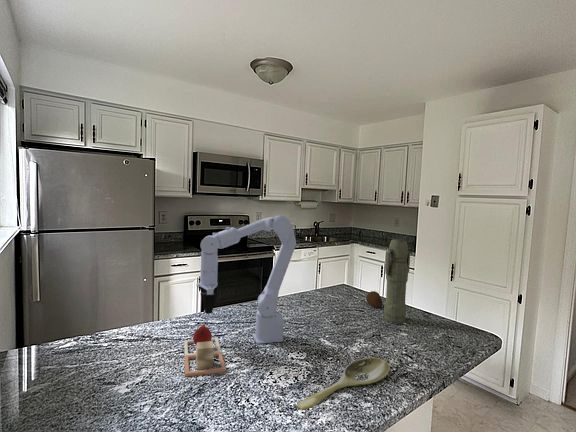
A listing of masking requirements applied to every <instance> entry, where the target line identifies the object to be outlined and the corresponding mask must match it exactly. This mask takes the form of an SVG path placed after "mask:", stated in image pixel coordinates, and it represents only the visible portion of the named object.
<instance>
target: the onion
mask: <svg viewBox="0 0 576 432" xmlns="http://www.w3.org/2000/svg"><path fill="white" fill-rule="evenodd" d="M212 336H213V334H212V332H211V330H210V329H209V328H208V327H207V326H206V324H205V323H202V324H201V326H200V327H198V328H197V329H196V330H195V331H194V333H193V337H192V340H193V341H194V343H193V344H194V345H195V346H196V347H197V342H208V341H211V338H213V337H212Z"/></svg>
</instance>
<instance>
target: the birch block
mask: <svg viewBox="0 0 576 432" xmlns="http://www.w3.org/2000/svg"><path fill="white" fill-rule="evenodd" d="M214 351H215V349H214V343H213V342H212V341H208V342H197V346H196V351H195V353H196V358H195V365H196V371H199V370H207V369H214V357H213V353H214Z"/></svg>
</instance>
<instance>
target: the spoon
mask: <svg viewBox="0 0 576 432" xmlns="http://www.w3.org/2000/svg"><path fill="white" fill-rule="evenodd" d="M390 368H391V365H390V363H389V362H388V361H387V360H385V359H383V358H379V357H365V358H361V359H357V360H355V361H352V362H351V363H348V365H346V366H345V368H344V369H343V371H342V375H341V376H340V378H339V379H338V381H336V382H335V383H333V384H332V385H330V386H328V387H326V388H323V389H322V390H320V391H316V392H315V393H313V394H311V395H310V396H307V397H306V398H304V399H302V400H301V401H299V402H298V403H297V409H299V410H307V409H309V408H312V407H314V406H316V405H318V404H320V402H322V401H324V400H325V399H326V398H327V397H329V396H330V395H331V394H332V393H334V392H335V391H339V390H340V389H344V388H345V387H355V386H356V387H358V386H366V385H372V384H374V383H377V382H379V381H381V380H383V379H384V378H386V377H387V376H388V374H389V373H390V370H391V369H390ZM360 374H366V375H368V377H367V379H363V380H359V379H356V376H357V375H360Z"/></svg>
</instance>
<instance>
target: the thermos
mask: <svg viewBox="0 0 576 432" xmlns="http://www.w3.org/2000/svg"><path fill="white" fill-rule="evenodd" d="M410 264H411V252H410V251H409V244H408V241H407V240H406V239H405V238H392V239H391V240H390V243H389V247H388V250H387V251H386V253H385V268H384V269H385V270H384V272H385V279H386V290H385V291H386V292H385V302H384V306H383V307H384V309H383V314H384V316H383V319H385V320H384V321H386V320H387V321H389V322H388V323H390V322H392V323H391V324H395V323H398V324H399V323H402V324H404V322H406V316H407V305H406V297H407V295H406V294H407V293H406V292H407V283H408V279H409V273H410ZM387 321H386V322H387ZM398 324H397V325H398ZM399 325H400V324H399Z"/></svg>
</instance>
